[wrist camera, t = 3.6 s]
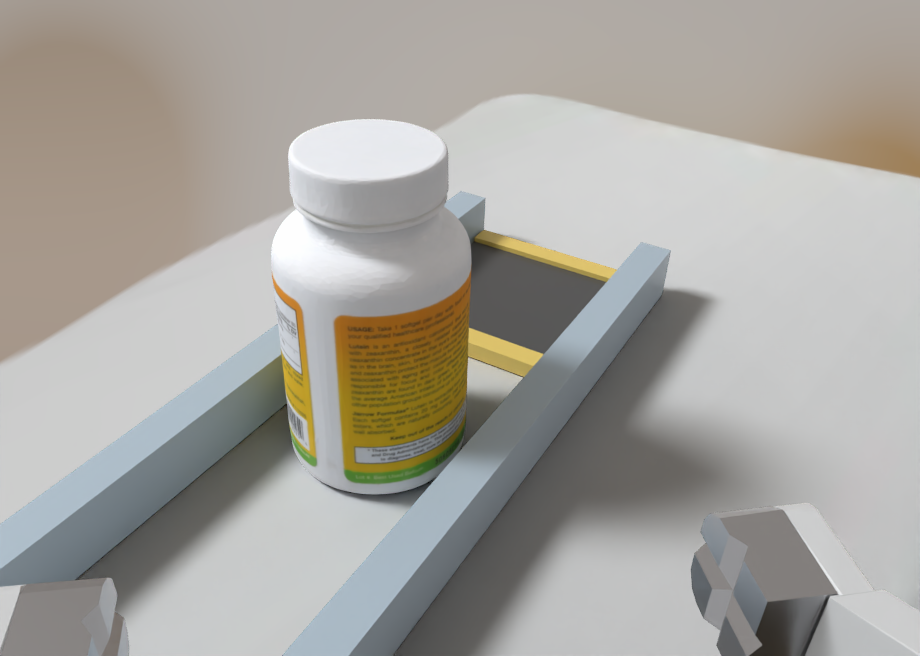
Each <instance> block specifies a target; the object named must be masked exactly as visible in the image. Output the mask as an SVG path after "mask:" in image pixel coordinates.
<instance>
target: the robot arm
mask: <svg viewBox="0 0 920 656" xmlns="http://www.w3.org/2000/svg"><path fill="white" fill-rule="evenodd" d="M701 534H702V536H703V538H704V540H705V542H706V543H705V544H704V545H703V546H702V547H701V548H700V549H699V550H698V551H697V552H695V553H694V558H693V562H692V567H691V579H692V589H693V593H694V596H695V600H696V603H697V605H698V608H699V610H700V612H701V614H702V616H703V618H704V619H705V620H706V621H708V622H709V623H711V624H712V625H713V626H715V627H716V628H717V629H719V630H720V633H719V637H718V641H717V645H716V646H717V648H718V650H719V652H720V654H721V656H920V611H919V610H917V609H915V608H914V607H912V606H910V605H909V604H907V603H906V602H904V601H902V600H901V599H899V598H897V597H896V596H894V595H892V594H891V593H889V592H888V591H886V590H874V589H873V587H872V586H871V584H870V583H869V582H868V580H867V579H866V577H865V576H864V574H863V573H862V572H861V570H860V569H859V567H858V566H857V565H856V563H855V562H854V560H853V559H852V558H851V556H850V555H849V553H848V552H847V550H846V549H845V548H844V546H843V545H842V543H841V542H840V541H839V539H838V538H837V536H836V535H835V533H834V532H833V531H832V529H831V528H830V526H829V525H828V524H827V522H826V521H825V519H824V518H823V517H822V515H821V514H820V512H819V511H818V510H817V508H816V507H814V506H813V505H811V504H810V503H800V504H790V505H781V506H775V507H772V506H767V507H759V508H751V509H742V510H734V511H725V512H717V513H710V514H709V515H708V516H707V517H706V518H705V519H704V522H703V525H702V529H701ZM117 596H118V595H117V592H116V589H115V586H114V583H113V580H112V578H96V579H84V580H71V581H59V582H46V583H34V584H26V585H15V586H4V587H0V656H129V640H128V632H127V627H126V623H125V619H124V617H122V616H121V615H119V614H118V613H116V612H115V607H116V601H117Z"/></svg>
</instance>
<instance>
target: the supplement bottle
mask: <svg viewBox="0 0 920 656" xmlns="http://www.w3.org/2000/svg"><path fill="white" fill-rule="evenodd" d="M288 158H289V175H290V193H291V196H292V198H293V203H294V205H295V207H296V210H295V211H294V212H292V213H291V214H290V215H289V216H288V217H287V218H286V219H285V220H284V221H283V223H282V224H281V226H280V227H279V229H278V231H277V233H276V235H275V237H274V240H273V243H272V249H271V262H272V278H273V287H274V295H275V303H276V311H277V320H278V328H279V336H280V346H281V355H282V363H283V372H284V382H285V391H286V399H287V408H288V418H289V426H290V433H291V438H292V444H293V448H294V451H295V453H296V455H297V457H298V459H299V461H300V463H301V464H302V465H303V467H304V468H305V469H306V470H307V471H308V472H309V473H310V474H311V475H312V476H314V477H315V478H316V479H318V480H319V481H321V482H323V483H325V484H327V485H329V486H332V487H334V488H337V489H340V490H344V491H348V492H353V493H360V494H390V493H397V492H402V491H406V490H410V489H413V488H416V487H418V486H421V485H423V484H425V483H427V482H429V481H431V480H433V479H434V478H436V477H437V476H438V475H439V474H440V473H441V472H442V471H443V470H444V469H445V467H446V466H447V465H448V464H449V463H450V462H451V461H452V459H453V458H454V457H455V456H456V455H457V454H458V453H459V451H460V449H461V446H462V443H463V439H464V433H465V423H466V393H467V365H468V338H469V312H470V288H471V245H470V239H469V237H468V234H467V232H466V230H465V228H464V226H463V225H462V223H461V222H460V221H459V219H458V218H457V217H456V216H455V215H454V214H453V213H452V212H451V211H450V210H448V209H447V208H445V207H444V205H445V203H446V200H447V192H448V149H447V146H446V144H445V142H444V141H443V140H442V139H441V138H440V137H439V136H438V135H436V134H435V133H433V132H432V131H430V130H427V129H425V128H422V127H420V126H417V125H413V124H409V123H405V122H399V121H391V120H379V119H359V120H347V121H340V122H334V123H329V124H326V125H322V126H319V127H316V128H313V129H311V130H309V131H306V132H304V133H303V134H301V135H300V136H298V137H297V138H296V139H295V140H294V141H293V142H292V144H291V146H290V148H289V154H288Z"/></svg>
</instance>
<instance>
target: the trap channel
mask: <svg viewBox="0 0 920 656" xmlns="http://www.w3.org/2000/svg"><path fill="white" fill-rule="evenodd" d="M444 207H445V208H447V209H448V210H450V211H451V212H452V213H453V214H454V215H455V216H456V217H457V218H458V219H459V221H460V222H461V223H462V225H463V226H464V228H465V230H466V232H467V234H468V237H469V239H470V245H471V288H470V312H469V338H468V356H469V357H472V358H474V359H477V360H480V361H482V362H485V363H488V364H490V365H493V366H496V367H498V368H501V369H504V370H507V371H509V372H512V373H515V374H517V375H520V376H523V377H524V378H523V379H522V380H521V381H520V382H519V383H518V385H517V386H516V387H515V388H514V389H513V390H512V392H511V393H510V394H509V395H508V396H507V397H506V398H505V400H504V401H503V402H502V403H501V404H500V405H499V406H498V408H497V409H496V410H495V411H494V412H493V413H492V415H491V416H490V417H489V418H488V419H487V420H486V421H485V423H484V424H483V425H482V426H481V427H480V428H479V430H478V431H477V432H476V433H475V434H474V435H473V436H472V438H471V439H470V440H469V441H468V442H467V443H466V444H465V446H464V447H463V448H462V449H461V450H460V451H459V453H458V454H457V455H456V456H455V457H454V458H453V459H452V461H451V462H450V463H449V464H448V465H447V466H446V467H445V469H444V470H443V471H442V472H441V473H440V474H439V476H438V477H437V478H436V479H435V480H434V481H433V482H432V484H431V485H430V486H429V487H428V488H427V489H426V490H425V492H424V493H423V494H422V495H421V496H420V497H419V499H418V500H417V501H416V502H415V503H414V504H413V505H412V507H411V508H410V509H409V510H408V511H407V512H406V513H405V515H404V516H403V517H402V518H401V519H400V520H399V522H398V523H397V524H396V525H395V526H394V527H393V528H392V530H391V531H390V532H389V533H388V534H387V535H386V537H385V538H384V539H383V540H382V541H381V542H380V543H379V545H378V546H377V547H376V548H375V549H374V550H373V551H372V553H371V554H370V555H369V556H368V557H367V558H366V560H365V561H364V562H363V563H362V564H361V565H360V566H359V568H358V569H357V570H356V571H355V572H354V573H353V574H352V576H351V577H350V578H349V579H348V580H347V581H346V583H345V584H344V585H343V586H342V587H341V588H340V589H339V591H338V592H337V593H336V594H335V595H334V596H333V597H332V599H331V600H330V601H329V602H328V603H327V604H326V606H325V607H324V608H323V609H322V610H321V611H320V612H319V614H318V615H317V616H316V617H315V618H314V619H313V620H312V622H311V623H310V624H309V625H308V626H307V627H306V629H305V630H304V631H303V632H302V633H301V634H300V635H299V637H298V638H297V639H296V640H295V641H294V642H293V644H292V645H291V646H290V647H289V648H288V649H287V650H286V652H285V653H284V654H283V655H282V656H393V654H394V653H395V652H396V650H397V649H398V648H399V646H400V645H401V644H402V642H403V641H404V640H405V638H406V637H407V636H408V634H409V633H410V631H411V630H412V629H413V627H414V626H415V625H416V623H417V622H418V621H419V619H420V618H421V617H422V615H423V614H424V613H425V611H426V610H427V609H428V607H429V606H430V605H431V603H432V602H433V601H434V599H435V598H436V597H437V595H438V594H439V593H440V591H441V590H442V589H443V587H444V586H445V585H446V583H447V582H448V581H449V579H450V578H451V577H452V575H453V574H454V573H455V571H456V570H457V569H458V567H459V566H460V565H461V563H462V562H463V560H464V559H465V558H466V556H467V555H468V554H469V552H470V551H471V550H472V548H473V547H474V546H475V544H476V543H477V542H478V540H479V539H480V538H481V536H482V535H483V534H484V532H485V531H486V530H487V528H488V527H489V526H490V524H491V523H492V522H493V520H494V519H495V518H496V516H497V515H498V514H499V512H500V511H501V510H502V508H503V507H504V506H505V504H506V503H507V502H508V500H509V499H510V498H511V496H512V495H513V494H514V492H515V491H516V489H517V488H518V487H519V485H520V484H521V483H522V481H523V480H524V479H525V477H526V476H527V475H528V473H529V472H530V471H531V469H532V468H533V467H534V465H535V464H536V463H537V461H538V460H539V459H540V457H541V456H542V455H543V453H544V452H545V451H546V449H547V448H548V447H549V445H550V444H551V443H552V441H553V440H554V439H555V437H556V436H557V435H558V433H559V432H560V431H561V429H562V428H563V427H564V425H565V424H566V423H567V421H568V420H569V418H570V417H571V416H572V414H573V413H574V412H575V410H576V409H577V408H578V406H579V405H580V404H581V402H582V401H583V400H584V398H585V397H586V396H587V394H588V393H589V392H590V390H591V389H592V388H593V386H594V385H595V384H596V382H597V381H598V380H599V378H600V377H601V376H602V374H603V373H604V372H605V370H606V369H607V368H608V366H609V365H610V364H611V362H612V361H613V360H614V358H615V357H616V356H617V354H618V353H619V352H620V350H621V349H622V347H623V346H624V345H625V343H626V342H627V341H628V339H629V338H630V337H631V335H632V334H633V333H634V331H635V330H636V329H637V327H638V326H639V325H640V323H641V322H642V321H643V319H644V318H645V317H646V315H647V314H648V313H649V311H650V310H651V309H652V307H653V306H654V305H655V303H656V302H657V301H658V299H659V298H660V297H661V295H662V293H663V288H664V283H665V278H666V273H667V267H668V262H669V257H670V252H671V250H667V249H664V248H660V247H657V246H653V245H650V244H646V243H643V242H641V243H640V244H639V245H638V247H637V248H636V249H635V250H634V251H633V252H632V253H631V255H630V256H629V257H628V258H627V259H626V260H625V262H624V263H623V264H622V265H621V266H620V267H619V268H618V270H616V269H613V268H610V267H606V266H603V265H600V264H596V263H593V262H590V261H586V260H583V259H580V258H576V257H573V256H570V255H566V254H563V253H560V252H556V251H553V250H550V249H546V248H543V247H540V246H536V245H533V244H530V243H526V242H523V241H520V240H516V239H513V238H510V237H506V236H503V235H500V234H496V233H493V232H490V231H486V230H484V216H485V198H483V197H480V196H476V195H473V194H469V193H466V192H462V191H461V192H459V193H458V194H456V195H455V196H454V197H452V198H451V199H449V200H448V201H447V202H446V203H445V205H444ZM286 403H287V399H286V391H285V382H284V372H283V363H282V355H281V346H280V336H279V328H278V324H276V325H275V326H274V327H272V328H271V329H270V330H268V331H267V332H265V333H264V334H263V335H261V336H260V337H258V338H257V339H256V340H254V341H253V342H252V343H250V344H249V345H247V346H246V347H245V348H243V349H242V350H241V351H239V352H238V353H236V354H235V355H234V356H232V357H231V358H229V359H228V360H227V361H225V362H224V363H223V364H221V365H220V366H218V367H217V368H216V369H214V370H213V371H211V372H210V373H209V374H207V375H206V376H205V377H203V378H202V379H200V380H199V381H198V382H196V383H195V384H193V385H192V386H191V387H189V388H188V389H187V390H185V391H184V392H182V393H181V394H180V395H178V396H177V397H175V398H174V399H173V400H171V401H170V402H169V403H167V404H166V405H164V406H163V407H162V408H160V409H159V410H157V411H156V412H155V413H153V414H152V415H151V416H149V417H148V418H146V419H145V420H144V421H142V422H141V423H139V424H138V425H137V426H135V427H134V428H133V429H131V430H130V431H128V432H127V433H126V434H124V435H123V436H121V437H120V438H119V439H117V440H116V441H115V442H113V443H112V444H110V445H109V446H108V447H106V448H105V449H103V450H102V451H101V452H99V453H98V454H97V455H95V456H94V457H92V458H91V459H90V460H88V461H87V462H86V463H84V464H83V465H81V466H80V467H79V468H77V469H76V470H74V471H73V472H72V473H70V474H69V475H68V476H66V477H65V478H63V479H62V480H61V481H59V482H58V483H56V484H55V485H54V486H52V487H51V488H50V489H48V490H47V491H45V492H44V493H43V494H41V495H40V496H38V497H37V498H36V499H34V500H33V501H32V502H30V503H29V504H27V505H26V506H25V507H23V508H22V509H20V510H19V511H18V512H16V513H15V514H14V515H12V516H11V517H9V518H8V519H7V520H5V521H4V522H2V523H1V524H0V587H4V586H15V585H26V584H34V583H46V582H59V581H71V580H75V579H76V578H78V577H79V576H80V575H81V574H82V573H84V572H85V571H86V570H87V569H88V568H90V567H91V566H92V565H93V564H94V563H96V562H97V561H98V560H99V559H100V558H102V557H103V556H104V555H105V554H106V553H108V552H109V551H110V550H111V549H112V548H114V547H115V546H116V545H117V544H118V543H120V542H121V541H122V540H123V539H124V538H126V537H127V536H128V535H129V534H130V533H132V532H133V531H134V530H135V529H136V528H138V527H139V526H140V525H141V524H142V523H144V522H145V521H146V520H147V519H148V518H150V517H151V516H152V515H153V514H154V513H156V512H157V511H158V510H159V509H160V508H162V507H163V506H164V505H165V504H166V503H168V502H169V501H170V500H171V499H172V498H174V497H175V496H176V495H177V494H178V493H180V492H181V491H182V490H183V489H184V488H186V487H187V486H188V485H189V484H190V483H192V482H193V481H194V480H195V479H196V478H198V477H199V476H200V475H201V474H202V473H204V472H205V471H206V470H207V469H208V468H210V467H211V466H212V465H213V464H214V463H216V462H217V461H218V460H219V459H220V458H222V457H223V456H224V455H225V454H226V453H228V452H229V451H230V450H231V449H232V448H234V447H235V446H236V445H237V444H238V443H240V442H241V441H242V440H243V439H244V438H246V437H247V436H248V435H249V434H250V433H252V432H253V431H254V430H255V429H256V428H258V427H259V426H260V425H261V424H262V423H264V422H265V421H266V420H267V419H268V418H270V417H271V416H272V415H273V414H274V413H276V412H277V411H278V410H279V409H280V408H282V407H283V406H284V405H285V404H286Z"/></svg>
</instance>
